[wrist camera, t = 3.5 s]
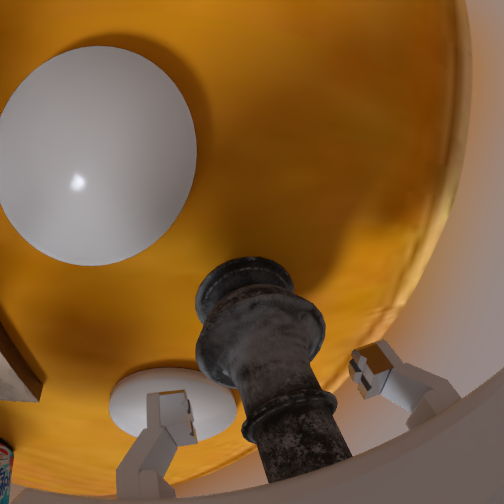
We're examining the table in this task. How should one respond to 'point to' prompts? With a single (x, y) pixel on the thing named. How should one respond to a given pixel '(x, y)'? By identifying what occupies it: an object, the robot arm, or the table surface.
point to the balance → (16, 374)
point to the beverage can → (5, 471)
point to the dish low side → (95, 155)
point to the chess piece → (269, 364)
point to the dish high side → (169, 379)
